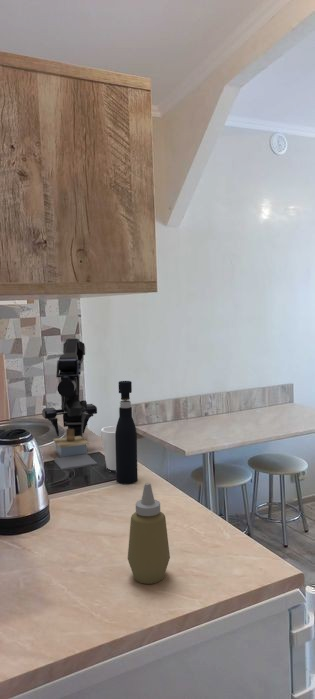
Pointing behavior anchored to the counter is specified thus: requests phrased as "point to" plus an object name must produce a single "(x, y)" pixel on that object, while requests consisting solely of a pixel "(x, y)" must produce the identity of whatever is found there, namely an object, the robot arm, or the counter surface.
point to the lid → (70, 440)
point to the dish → (71, 450)
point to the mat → (74, 461)
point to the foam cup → (109, 446)
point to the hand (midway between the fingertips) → (70, 434)
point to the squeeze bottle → (148, 540)
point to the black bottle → (126, 439)
